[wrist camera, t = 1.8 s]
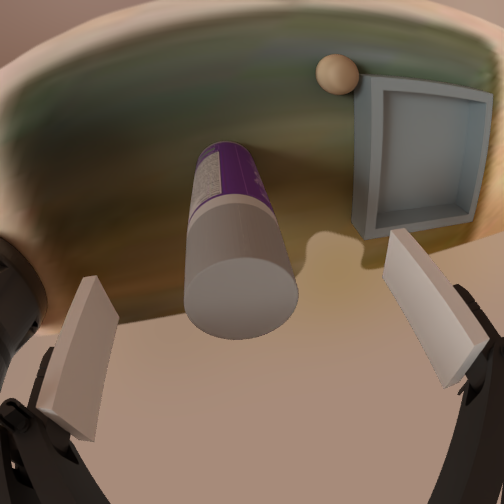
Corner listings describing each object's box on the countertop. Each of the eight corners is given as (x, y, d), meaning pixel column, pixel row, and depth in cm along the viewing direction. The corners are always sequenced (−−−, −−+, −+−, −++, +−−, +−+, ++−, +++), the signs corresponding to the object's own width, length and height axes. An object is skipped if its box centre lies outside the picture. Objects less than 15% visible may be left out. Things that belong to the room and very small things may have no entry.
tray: (351, 222, 28) (364, 240, 26) (353, 73, 20) (370, 76, 17) (456, 207, 28) (472, 221, 26) (472, 87, 20) (493, 94, 18)
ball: (311, 93, 21) (325, 98, 18) (308, 54, 19) (322, 53, 16) (349, 92, 21) (367, 97, 18) (347, 54, 19) (365, 55, 16)
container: (266, 165, 24) (325, 294, 12) (227, 204, 26) (245, 354, 13) (222, 128, 22) (237, 230, 10) (184, 172, 23) (157, 311, 11)
